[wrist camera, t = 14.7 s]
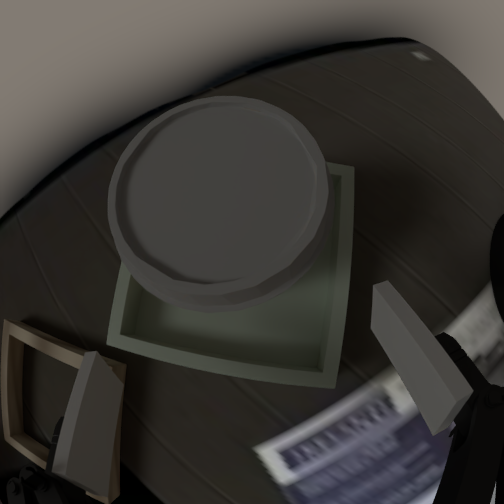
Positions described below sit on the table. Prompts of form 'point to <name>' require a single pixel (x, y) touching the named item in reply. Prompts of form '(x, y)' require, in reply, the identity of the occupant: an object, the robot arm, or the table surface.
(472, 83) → the table surface
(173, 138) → the disposable coffee cup
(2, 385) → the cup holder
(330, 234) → the tray
